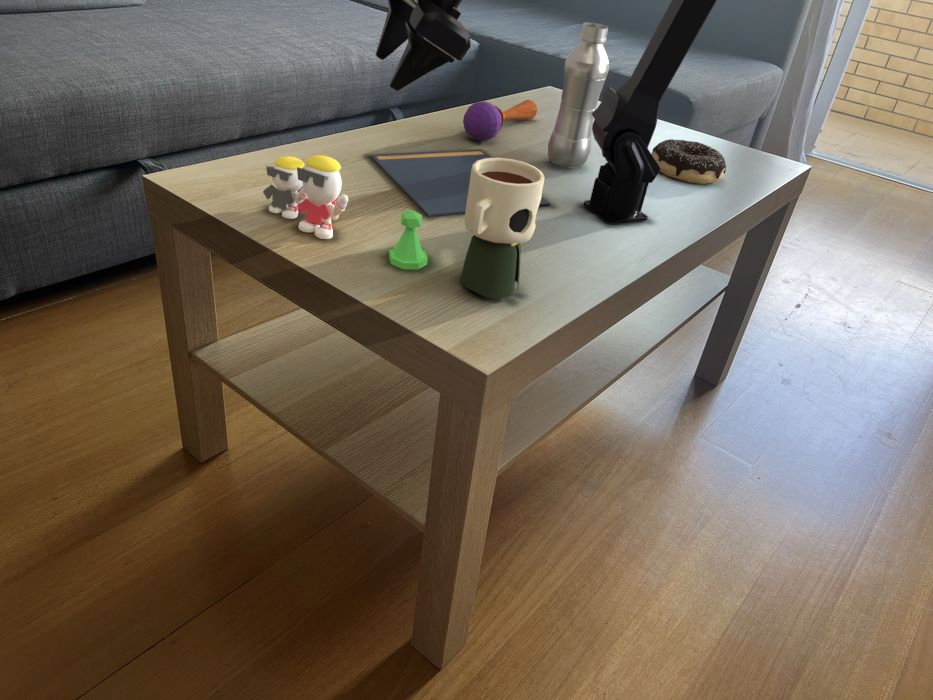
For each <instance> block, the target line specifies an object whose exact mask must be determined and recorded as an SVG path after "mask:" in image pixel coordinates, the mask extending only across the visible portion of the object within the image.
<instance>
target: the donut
mask: <svg viewBox="0 0 933 700" xmlns="http://www.w3.org/2000/svg"><path fill="white" fill-rule="evenodd" d="M651 154H652V156H653V157H654V159H655V160H656V162H657V163H658V165H659V166H660V168H661V170H660V172H661V173H662V174H663V175H665V176H667V177H670V178H673V179H676V180H680V181H682V182H686V183H691V184H692V183H693V184H703V185H704V184H705V185H706V184H711V183H715V182H718V181H720V180H721V179H723V178H724V175H725V174H726V171H727V163H726V159H725V157H724V156H723V154H722V153H721V152H720V151H719V150H717V149H715V148H713V147H711V146H709V145H707V144H705V143H701V142H699V141H694V140H693V141H692V140H691V141H689V140H685V139H673V138H671V139H665V140H663V141H660V142H658V144H656V145H655V146H654V147H653V148H652V151H651ZM660 172H659V173H660Z"/></svg>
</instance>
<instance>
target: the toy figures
mask: <svg viewBox="0 0 933 700" xmlns="http://www.w3.org/2000/svg"><path fill="white" fill-rule="evenodd" d="M265 169H266V175H267V176H268V177H271V181H272V182H273V184H274V185H273V184H270V185H269V186H267V187H266V188H265V189H264V190H263V191H262V193H263V195H264V196H265V198H266V199H267V200H270V199H272V200H271V202H270V205H269V206H268V211H269V212H270V213H272V214H281V217H282V218H283V219H287V220H292V219H293V220H294V219H296V218H298V215H299V213H300V214H301V215H302V214H304V213H306V216H305V219H304V220H301V221H299V223H298V230H299V231H300V232H303V233H314V236H315V237H316V238H318V239H321V240H330V239H332V238H333V236H334V234H333V233H334V231H333V226H332V225H333V224H332V221H336V220H338V219H339V217H340V214H342V213H344V212H345V211H346V208H347V206H348V205H347V204H348V203H349V197H348V195H346V194H343V193H342V194H341V195H340V193H341V190H342V186H343V185H342V183H343V182H342V177H341V173H340V171H341V169H342V165H341V164H340V162H339V161H338V160H336V159H335V158H333V157H330V156H328V155H321V154H316V155H311V156H309V157H308V158H307V159H306V160H305V162H304V161H303V160H301V159H300V158H298V157H294V156H289V155H287V156H279V157H278V158H276V159H275V160H274V165H273V166H269V165H268V166H267V165H266V168H265ZM339 195H340V196H339Z"/></svg>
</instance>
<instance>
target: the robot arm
mask: <svg viewBox="0 0 933 700" xmlns="http://www.w3.org/2000/svg"><path fill="white" fill-rule="evenodd" d="M462 1H463V0H387V4H388V11H387V14H386V17H385V20H384V25H383V27H382V31H381V34H380V37H379V41H378V45H377V47H376V51H375V56H376V58H378V59H380V60H381V61H383V60H385V59H387V58H388V57H389V56H390V55H392V54H393V53H394V52H395V51H396V50H397V49H398V48H399V47H400V46H402V45H403V44H404V43H405V42H406V41H407V44H406V46H405V49H404V51H403V52H402V55H401V57H400V60H399V62H398V63H397V65H396V68H395V70H394V73H393V74H392V78H391V79H390V83H389V87H390V88H391V89H392V90H394V91H396V92H398V91H401V90H402V89H404V88H406V87H407V86H408V85H411V84H412V83H414V82H415V81H417V80H418V79H420V78H422V77H423V76H426V75H427V74H429V73H430V72H432V71H434V70H437V69H438V68H440V67H442V66H444V65H446V64H448V63H450V64H453V63H454V62H455V60H457V61H461V62H462V60H463V59H464V57H465V56H466V54H468V52H469V50H470V48H471V47H472V45H471V44H472V43H471V35H470V33H469V31H468V30H467V29H466V27H465V26H464V25H463V24H462V22H461V21H459V18H460V16H461V15H462V13H461V11H460V10H459V7H460V5H461V3H462ZM717 2H718V0H671V1H670V3H669V4H668V7H667V9H666V10H665V12H664V14H663V15H662V18H661V19H660V21H659V24H658V25H657V26H656V29H655V31H654V33H653V35H652V37H651V39H650V40H649V42H648V44H647V46H646V47H645V50H644V52H643V53H642V55H641V57H640V58H639V61H638V63H637V64H636V66H635V69H634V70H633V72H632V74H631V75H630V77H629V78H628V80H627V81H626V82H625V83H624V84H623V85H622V86H620V88H618V89H617V90H615V89H614V88H612V87H611V86H609V85H608V86H606V88H605V90H604V92H603V96H602V99H601V101H600V104H599V105H597V106H598V107H596V110H595V111H594V112H593V113H592V116H593V117H594V120H593V125H592V135H593V139H594V141H595V142H596V144H597V145H598V147H599V148H600V150H601V155H602V157H603V158H604V159H605V161H606V162H605V163H604V164H603V165H600V167H599V171H598V174H597V177H595V179H594V183H593V187H592V191H591V195H590V199H588V200H583V206H584V207H586V208H587V209H588V210H590V211H591V212H592V213H594V214H595V215H597V216H598V217H599V218H601V219H602V220H603V221H605V222H606V223H607V224H610V225H617V224H624V223H625V224H626V223H634V222H645V221H648V218H649V216H648V215H647V214H645V213H644V212H643V211H642V208H643V205H644V202H645V199H646V194H647V191H648V187H649V184H652V183H653V182H654V181H655V179H656V178H657V176H658V175H659V174H660V170H661V168H660V166H659V165H658V163H657V162H656V160H655V159H654V157H653V156H652V152H651V151H650V150H649V146H650V144H651V140H652V138H653V136H654V133H655V130H656V127H657V123H658V119H659V113H660V107H661V102H662V99H663V97H664V95H665V93H666V91H667V90H668V88H669V86H670V84H671V82H672V81H673V79H674V78H675V75H676V74H677V72H678V70H679V68H680V67H681V65H682V63H683V61H684V59H685V58H686V56H687V54H688V53H689V51H690V49H691V47H692V45H693V44H694V42H695V40H696V39H697V37H698V35H699V33H700V31H701V29H702V28H703V26H704V25H705V23H706V20H707V19H708V17H709V15H710V13H711V12H712V10H713V9H714V8H715V7H714V6H715V5H716V3H717Z"/></svg>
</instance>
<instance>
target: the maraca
mask: <svg viewBox="0 0 933 700" xmlns="http://www.w3.org/2000/svg"><path fill="white" fill-rule="evenodd" d="M537 114H538V107H537V104H536V103H535V101H534V100H531V99H526V100H523V101H522V102H519V103H518V104H515V105H513V106H512V107H510V108H508V109H506V110H504V111H502V110H501V109H500V108H499V107H498V106H496V105H493V104H492V102H488V101H485V100H483V101H477V102H474V103H472V104H471V105H469V106H468V108H467V109H466V111H465V112H464V115H463V120H462V123H463V129H464V131H465V133H466V134H467V135H468V136H469V137H470V138H472V139H473V140H474V141H478V142H485V141H486V142H487V141H490V140H492V139H493V138H495V137H496V136H497V135H498V133H499V132H500V130H501V129H502V127H503V125H504V122H505V121H520V120H521V121H525V120H526V121H527V120H532V119H534V118H535V117H536V116H537Z"/></svg>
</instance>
